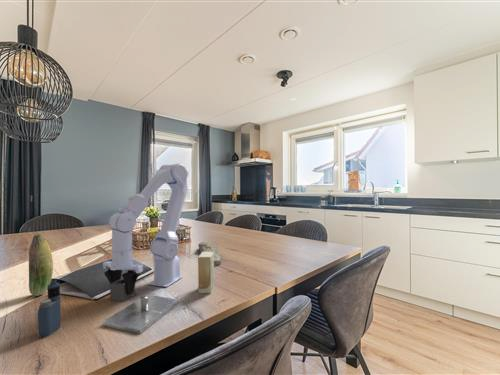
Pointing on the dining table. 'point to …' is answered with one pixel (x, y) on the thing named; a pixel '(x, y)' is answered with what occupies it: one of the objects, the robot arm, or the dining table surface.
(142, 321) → the shaft plate
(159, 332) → the dining table surface
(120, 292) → the hollow square box
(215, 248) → the elongated rock
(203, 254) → the skincare box
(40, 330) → the vaping device
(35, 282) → the vegetable
